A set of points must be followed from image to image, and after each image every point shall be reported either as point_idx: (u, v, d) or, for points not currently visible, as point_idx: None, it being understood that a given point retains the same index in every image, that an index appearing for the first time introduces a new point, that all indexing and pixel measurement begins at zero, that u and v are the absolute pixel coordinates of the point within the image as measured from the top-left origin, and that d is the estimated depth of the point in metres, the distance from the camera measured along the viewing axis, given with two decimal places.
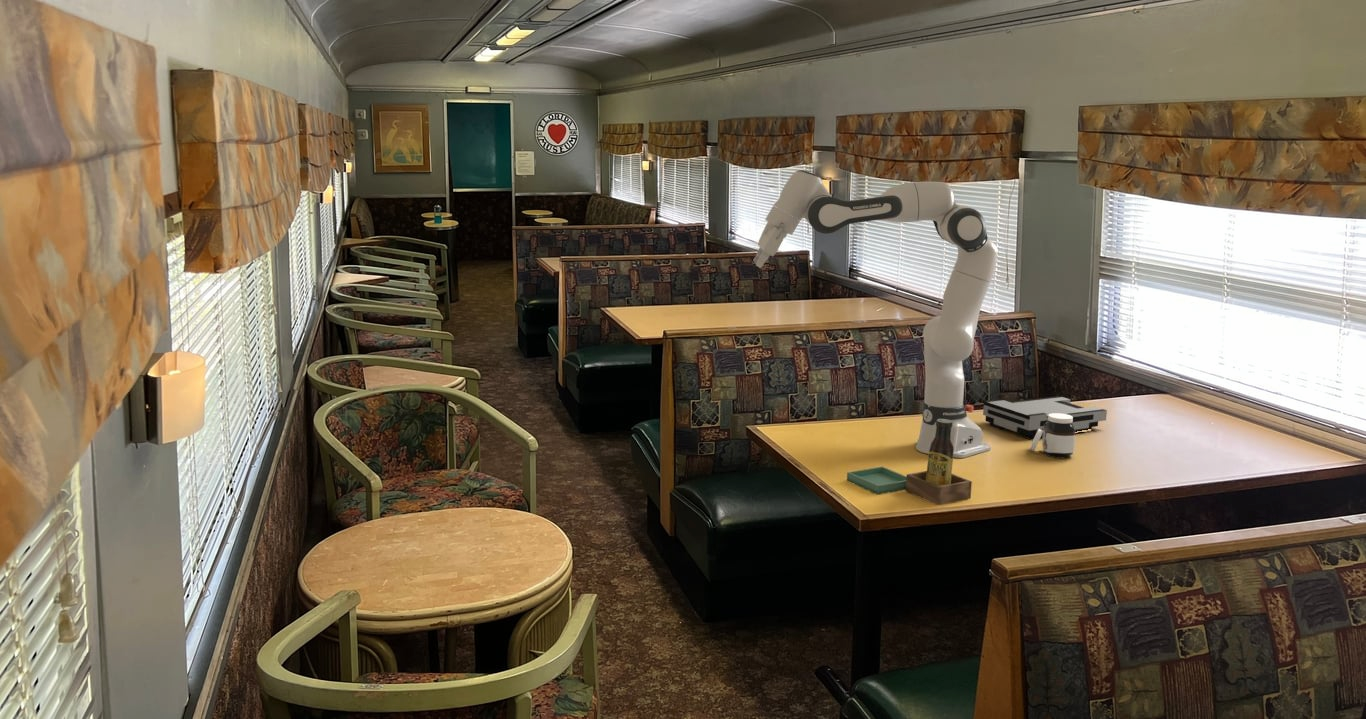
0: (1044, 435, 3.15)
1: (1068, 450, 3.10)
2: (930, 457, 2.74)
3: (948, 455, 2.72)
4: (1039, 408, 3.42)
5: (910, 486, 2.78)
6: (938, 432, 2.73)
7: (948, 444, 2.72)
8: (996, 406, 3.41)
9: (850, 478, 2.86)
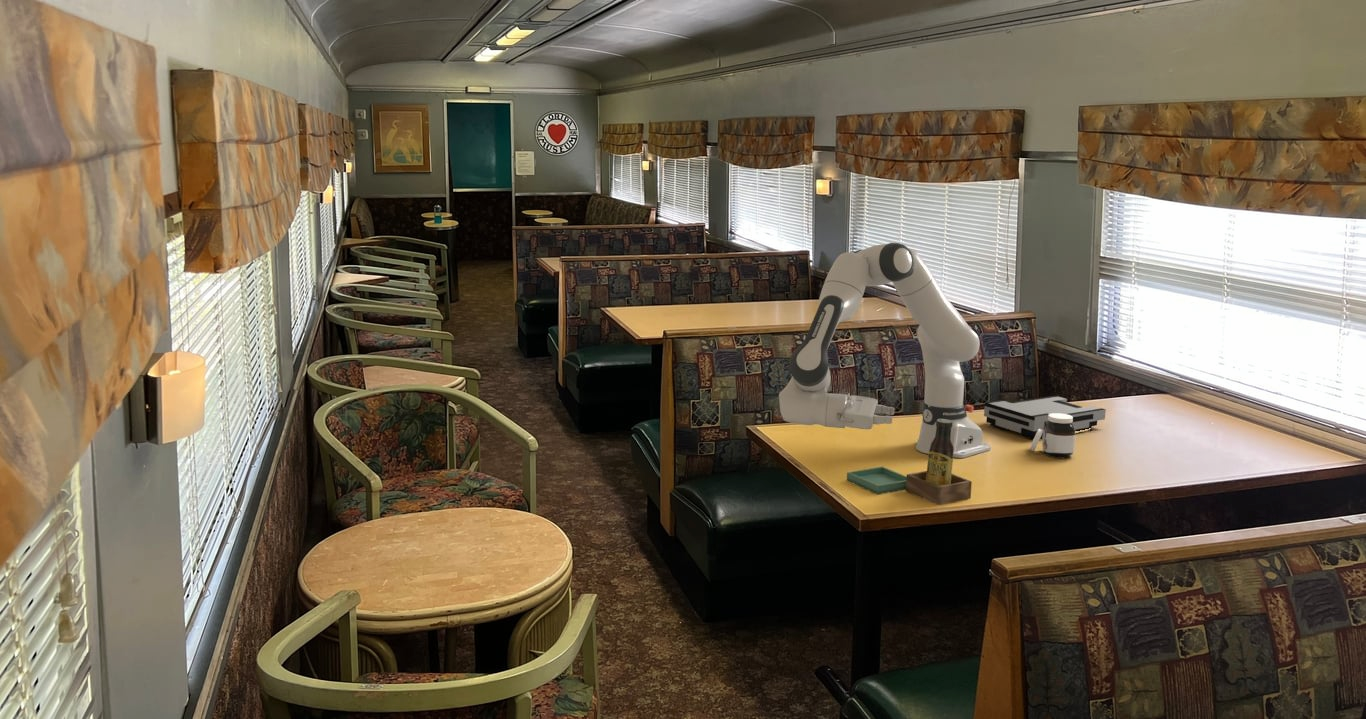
0: (1044, 435, 3.15)
1: (1068, 450, 3.10)
2: (930, 457, 2.74)
3: (948, 455, 2.72)
4: (1040, 408, 3.42)
5: (910, 486, 2.78)
6: (938, 432, 2.73)
7: (948, 444, 2.72)
8: (998, 407, 3.39)
9: (850, 478, 2.86)
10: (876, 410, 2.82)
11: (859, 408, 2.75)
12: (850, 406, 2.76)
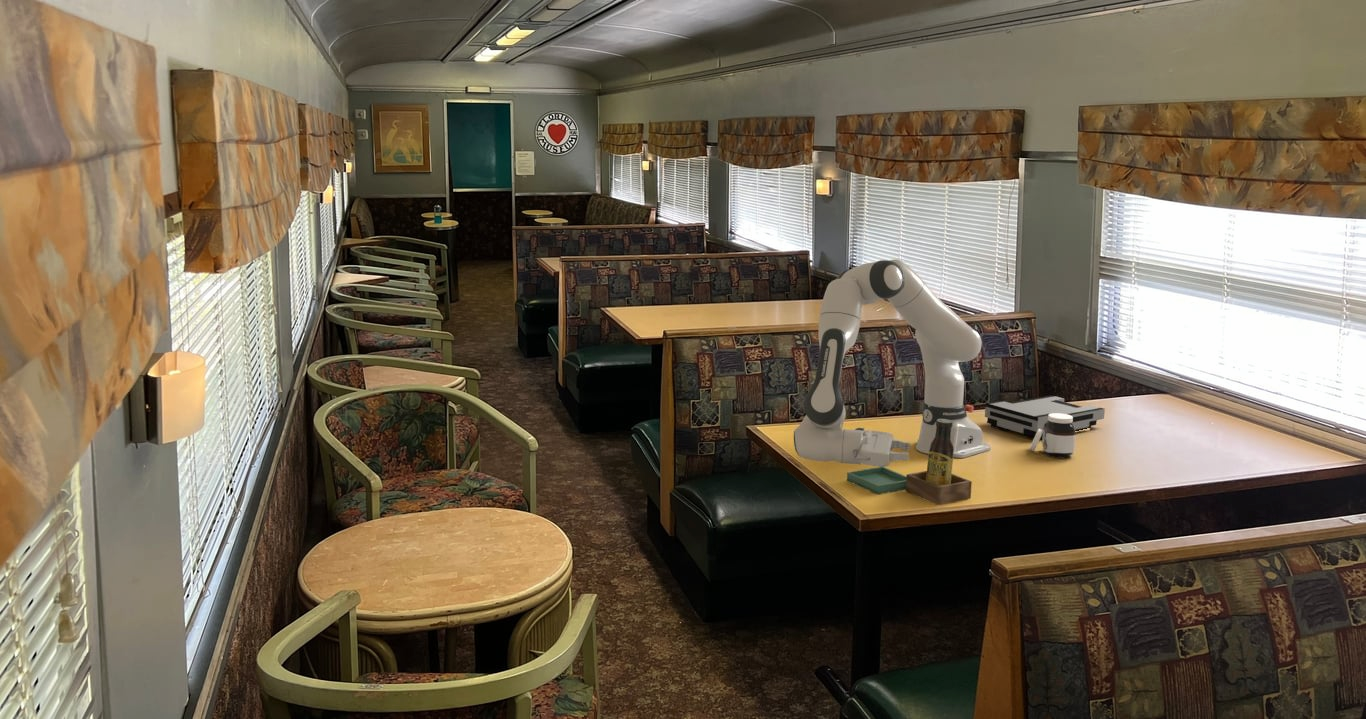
0: (1044, 435, 3.15)
1: (1068, 450, 3.10)
2: (930, 457, 2.74)
3: (948, 455, 2.72)
4: (1040, 408, 3.42)
5: (910, 486, 2.78)
6: (938, 432, 2.73)
7: (948, 444, 2.72)
8: (999, 408, 3.38)
9: (850, 478, 2.86)
10: (892, 445, 2.83)
11: (875, 444, 2.76)
12: (866, 443, 2.77)
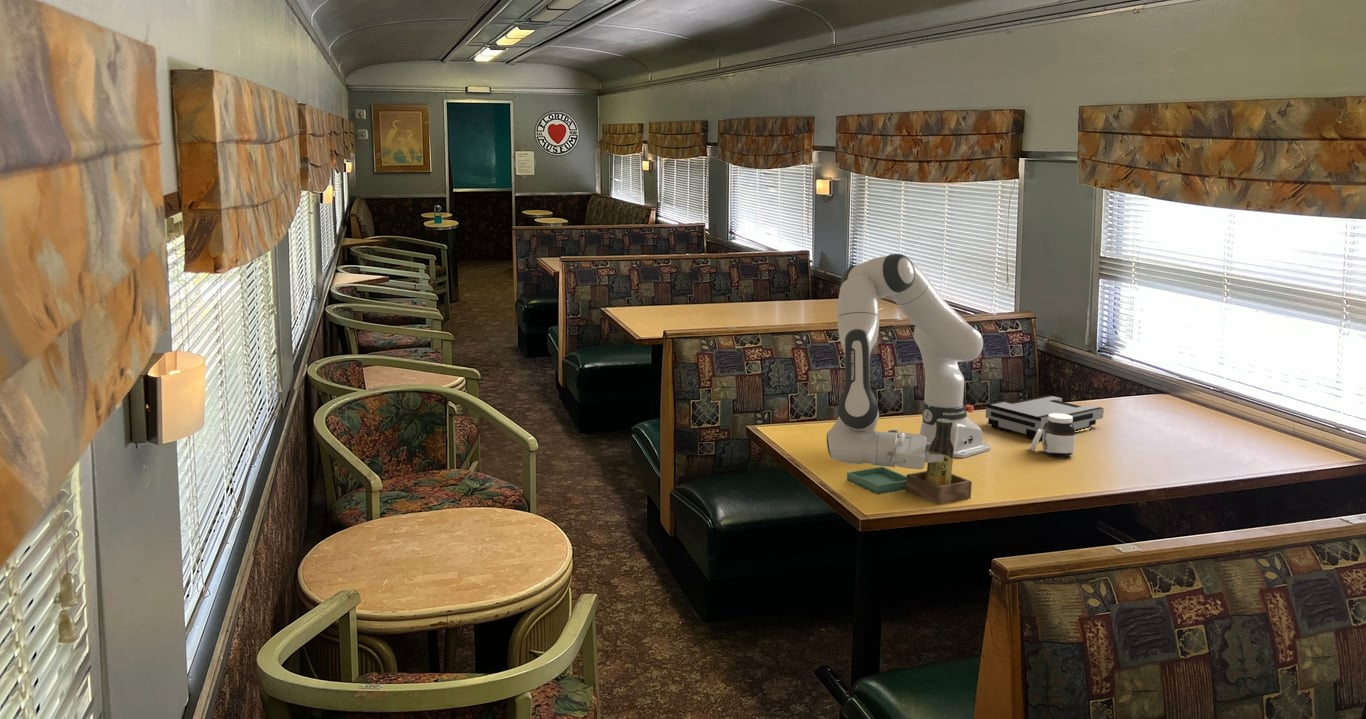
0: (1044, 435, 3.15)
1: (1068, 450, 3.10)
2: None
3: (948, 454, 2.72)
4: (1040, 409, 3.41)
5: (910, 486, 2.78)
6: (938, 432, 2.73)
7: (948, 444, 2.73)
8: (1001, 408, 3.38)
9: (850, 478, 2.86)
10: None
11: (910, 447, 2.74)
12: (900, 445, 2.75)
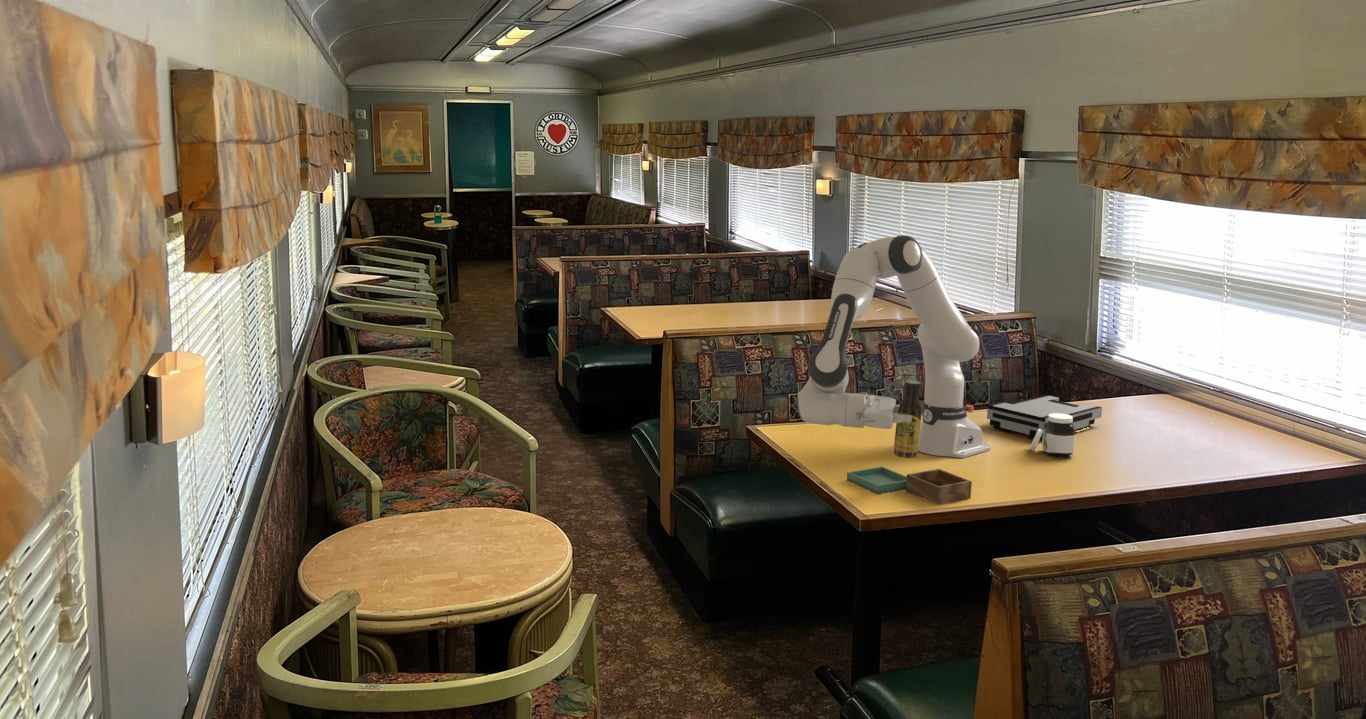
0: (1044, 435, 3.15)
1: (1068, 450, 3.10)
2: None
3: (916, 415, 2.75)
4: (1041, 409, 3.41)
5: (910, 486, 2.78)
6: (906, 393, 2.75)
7: (916, 405, 2.75)
8: (1003, 409, 3.36)
9: (850, 478, 2.86)
10: None
11: (878, 408, 2.76)
12: (869, 406, 2.77)
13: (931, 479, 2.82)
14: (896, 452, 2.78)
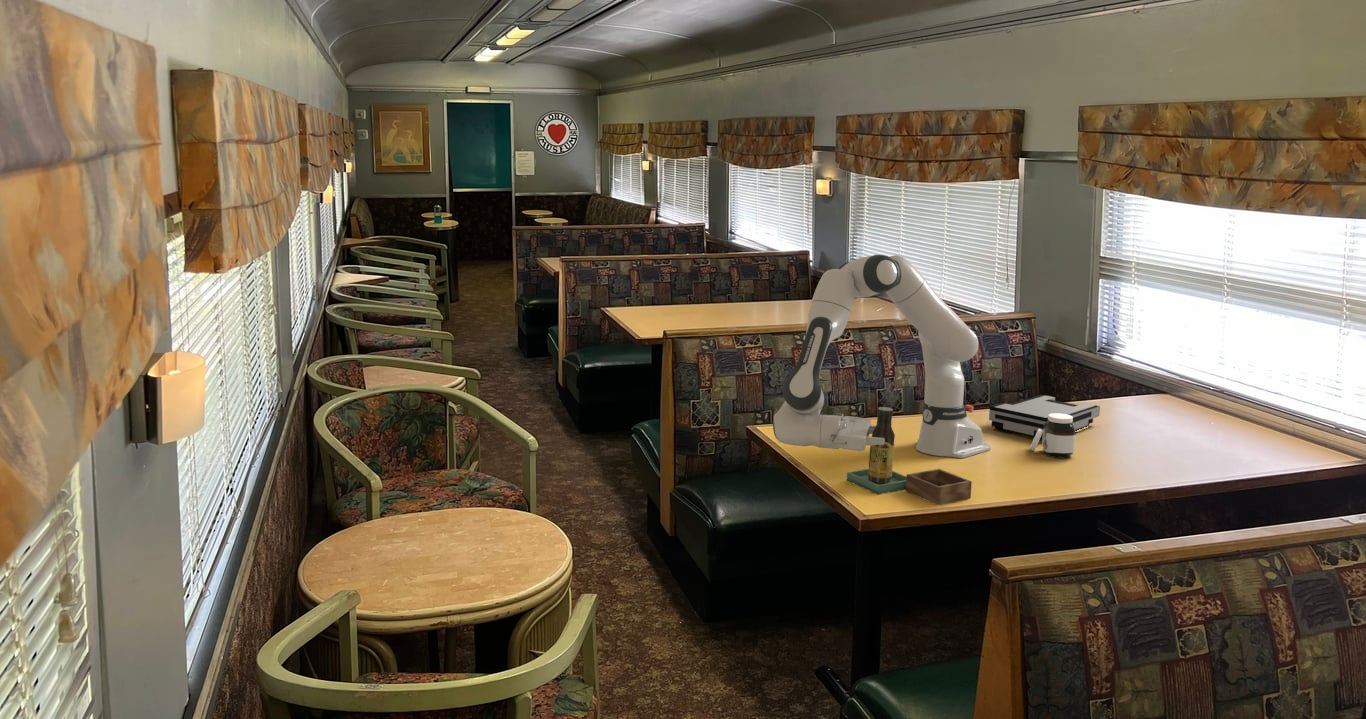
0: (1044, 435, 3.15)
1: (1068, 450, 3.10)
2: None
3: (888, 442, 2.80)
4: (1042, 409, 3.41)
5: (910, 486, 2.78)
6: (879, 420, 2.81)
7: (889, 432, 2.80)
8: (1006, 410, 3.35)
9: (850, 478, 2.86)
10: (869, 430, 2.88)
11: (852, 429, 2.81)
12: (843, 427, 2.82)
13: (931, 479, 2.82)
14: (870, 477, 2.84)
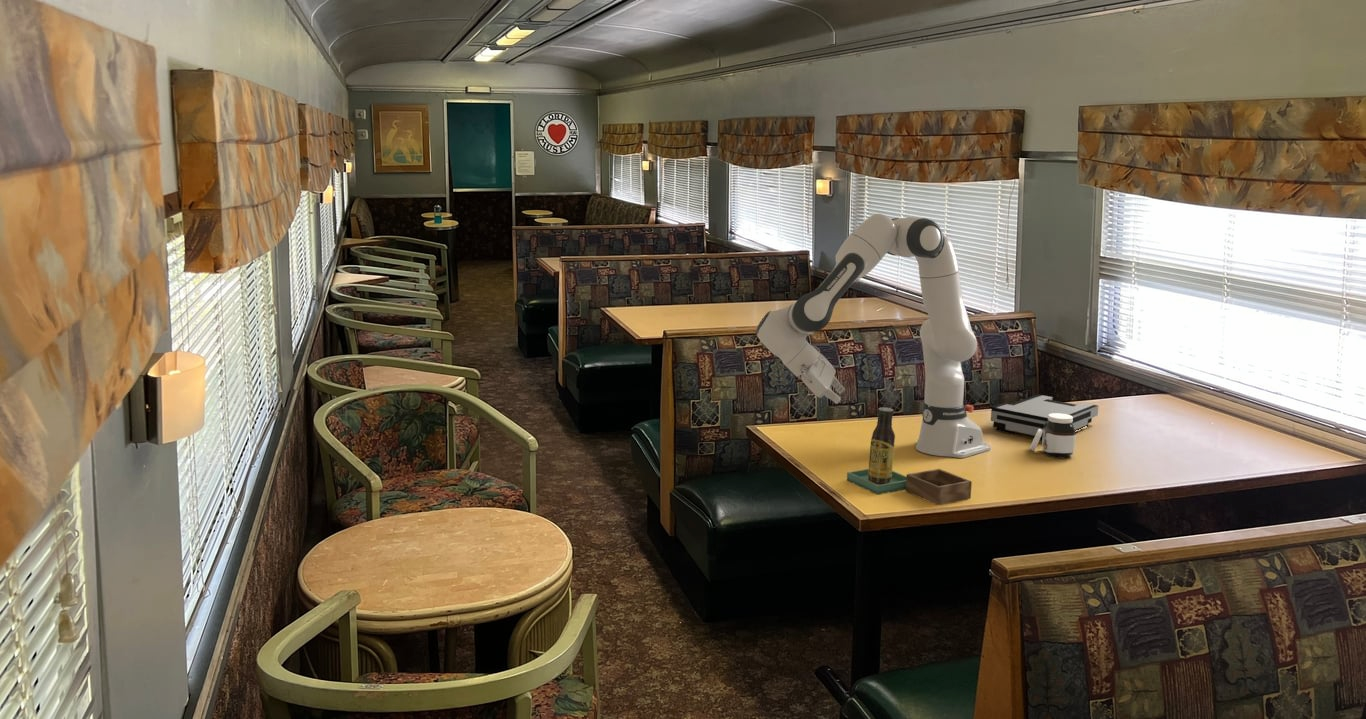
0: (1044, 435, 3.15)
1: (1068, 450, 3.10)
2: (872, 445, 2.82)
3: (889, 442, 2.80)
4: (1042, 409, 3.41)
5: (910, 486, 2.78)
6: (879, 420, 2.80)
7: (889, 432, 2.80)
8: (1008, 411, 3.34)
9: (850, 478, 2.86)
10: None
11: (821, 373, 2.88)
12: (816, 366, 2.88)
13: (931, 479, 2.82)
14: (870, 478, 2.84)
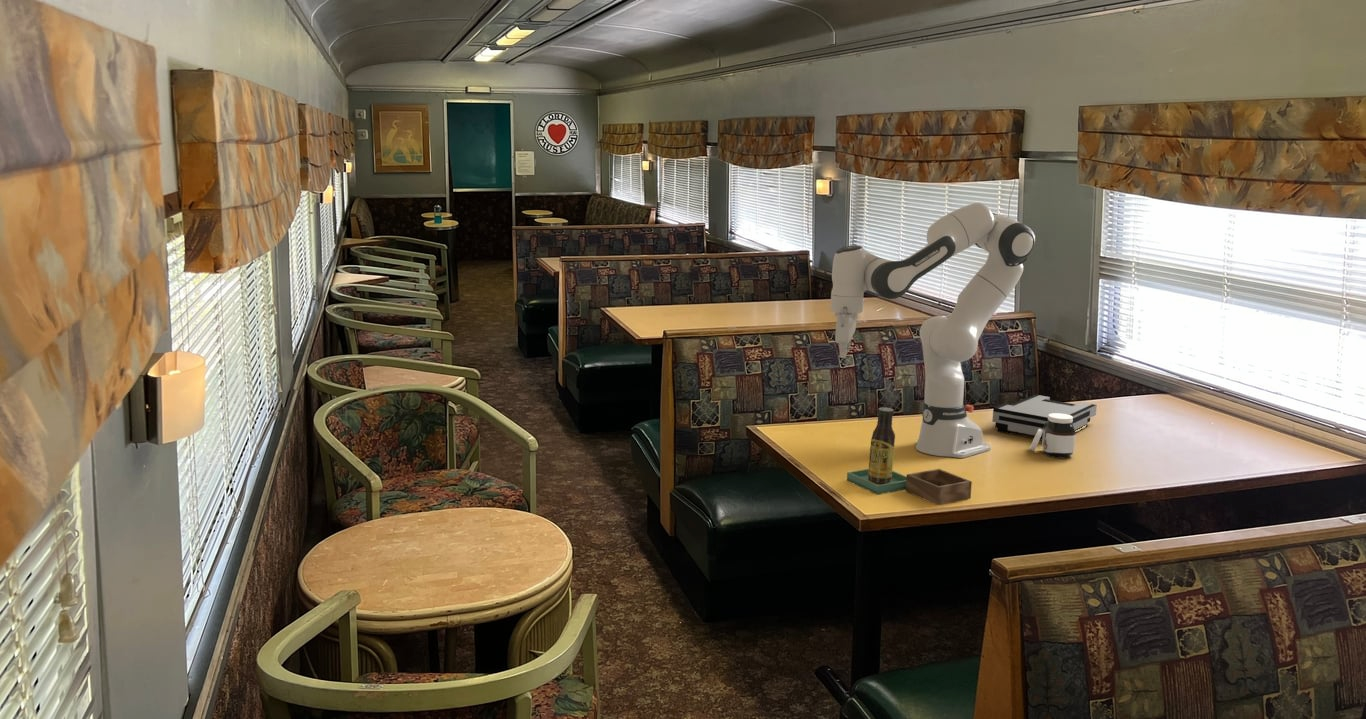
0: (1044, 435, 3.15)
1: (1068, 450, 3.10)
2: (872, 445, 2.82)
3: (889, 442, 2.80)
4: (1043, 409, 3.40)
5: (910, 486, 2.78)
6: (879, 420, 2.80)
7: (889, 432, 2.80)
8: (1011, 412, 3.33)
9: (850, 478, 2.86)
10: None
11: (851, 325, 2.94)
12: (852, 317, 2.94)
13: (931, 479, 2.82)
14: (870, 478, 2.84)
